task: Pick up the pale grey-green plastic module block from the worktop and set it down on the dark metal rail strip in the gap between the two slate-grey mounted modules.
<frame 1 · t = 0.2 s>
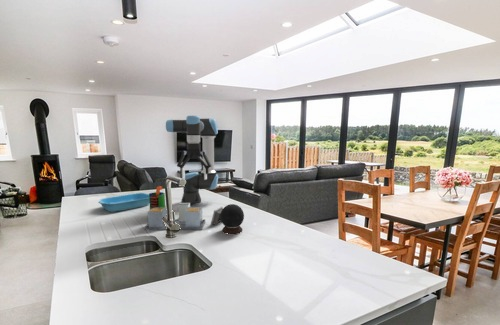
hand: (194, 179, 154), 27 cm above the kitchen island, fingers open, 13 cm apart
black ball on stand: (232, 231, 147), on the kitchen island
module block: (184, 219, 165), on the kitchen island
casserole dish: (127, 207, 193), on the kitchen island
electrical switch: (218, 223, 160), on the kitchen island
motor: (158, 217, 169), on the kitchen island
rail: (176, 226, 153), on the kitchen island
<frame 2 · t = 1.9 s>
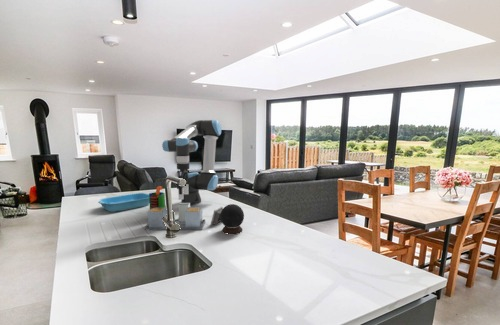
hand: (183, 196, 163), 15 cm above the kitchen island, fingers open, 13 cm apart
nothing on the kitchen island moved.
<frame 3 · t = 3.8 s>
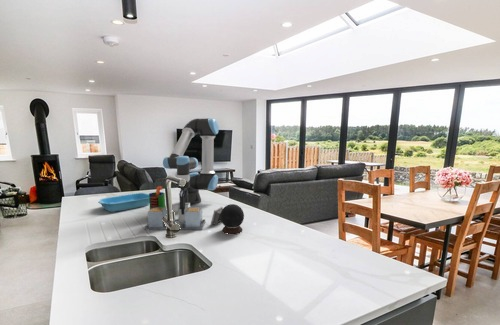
hand: (184, 217, 165), 1 cm above the kitchen island, fingers closed on module block, 6 cm apart
module block: (184, 219, 165), on the kitchen island, touching gripper
everything else where it was.
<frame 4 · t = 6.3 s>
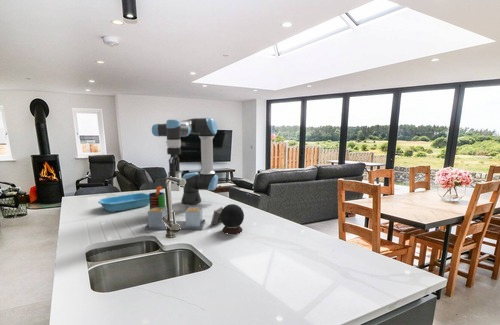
hand: (175, 187, 151), 23 cm above the kitchen island, fingers closed on module block, 6 cm apart
module block: (175, 189, 151), point 22 cm above the kitchen island, touching gripper
everything else where it was.
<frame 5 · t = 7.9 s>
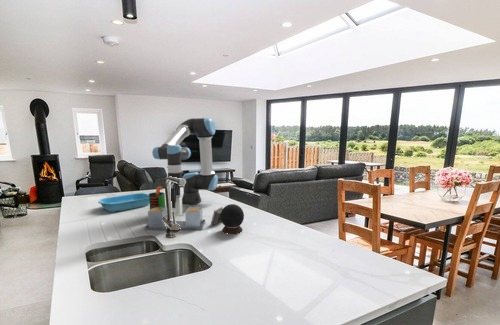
hand: (175, 211, 152), 9 cm above the kitchen island, fingers closed on module block, 6 cm apart
module block: (175, 213, 152), point 8 cm above the kitchen island, touching gripper
everything else where it was.
when the fingers open (4 cm above the kitchen island, at t = 9.1 s): module block drops 2 cm, resting on rail.
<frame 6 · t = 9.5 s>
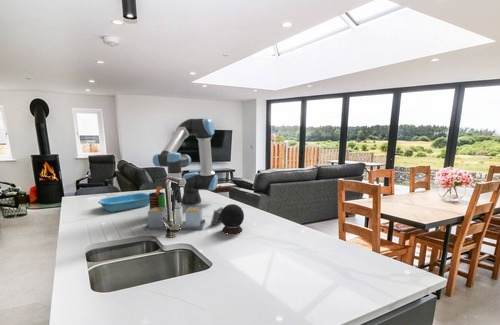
hand: (176, 216, 153), 6 cm above the kitchen island, fingers open, 11 cm apart
module block: (176, 224, 153), point 1 cm above the kitchen island, touching rail
everything else where it was.
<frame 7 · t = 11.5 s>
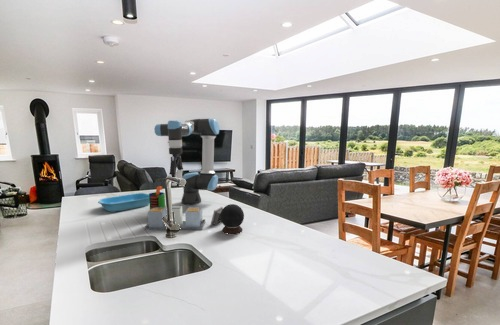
hand: (177, 182, 156), 25 cm above the kitchen island, fingers open, 13 cm apart
nothing on the kitchen island moved.
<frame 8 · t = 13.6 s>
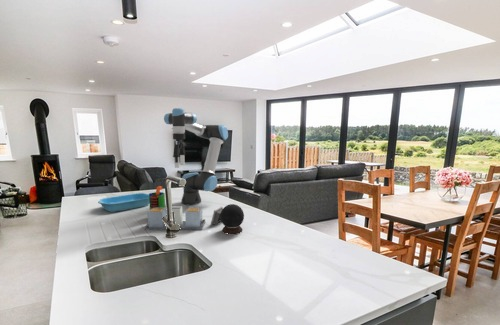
hand: (179, 166, 169), 33 cm above the kitchen island, fingers open, 13 cm apart
nothing on the kitchen island moved.
at the end: module block inside the target area on the rail (0.0 cm from its centre), point 1.2 cm above the rail's base; module block tilted 0°; the gripper is holding nothing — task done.
